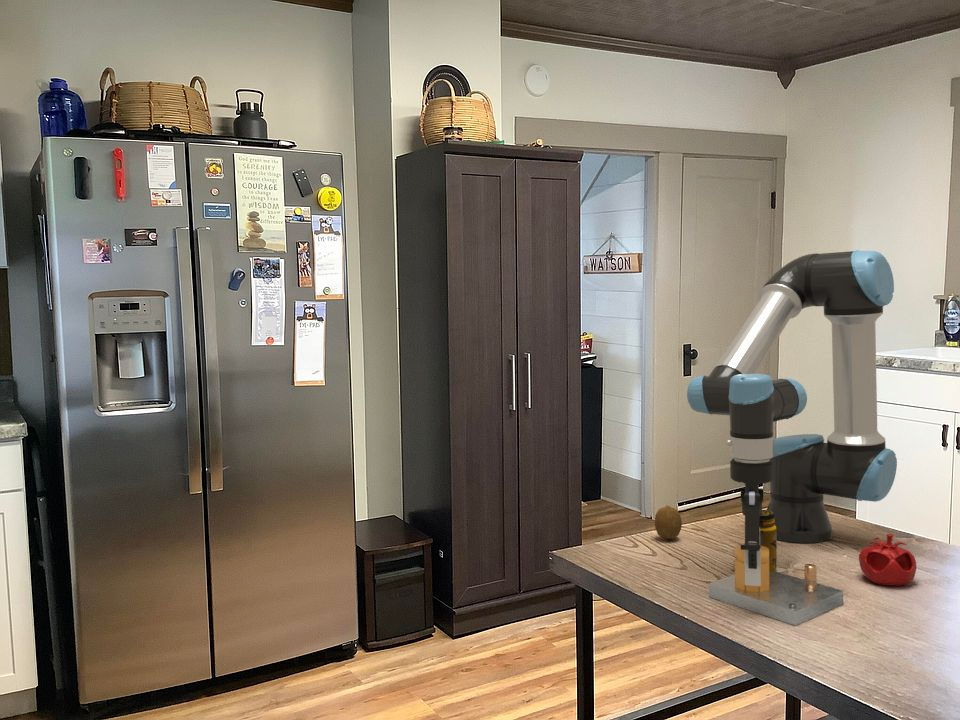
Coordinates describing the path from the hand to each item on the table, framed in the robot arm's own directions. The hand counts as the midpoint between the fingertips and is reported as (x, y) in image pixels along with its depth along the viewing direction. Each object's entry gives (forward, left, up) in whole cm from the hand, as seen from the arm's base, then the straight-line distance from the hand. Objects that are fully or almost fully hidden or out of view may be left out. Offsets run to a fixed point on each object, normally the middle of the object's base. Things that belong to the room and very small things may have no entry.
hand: (752, 572), depth 152 cm
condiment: (-14, -9, -5) cm, 18 cm away
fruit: (-17, -35, -5) cm, 39 cm away
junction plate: (-2, +3, -5) cm, 6 cm away
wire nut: (0, 0, -2) cm, 3 cm away
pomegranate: (-27, +11, -5) cm, 30 cm away
